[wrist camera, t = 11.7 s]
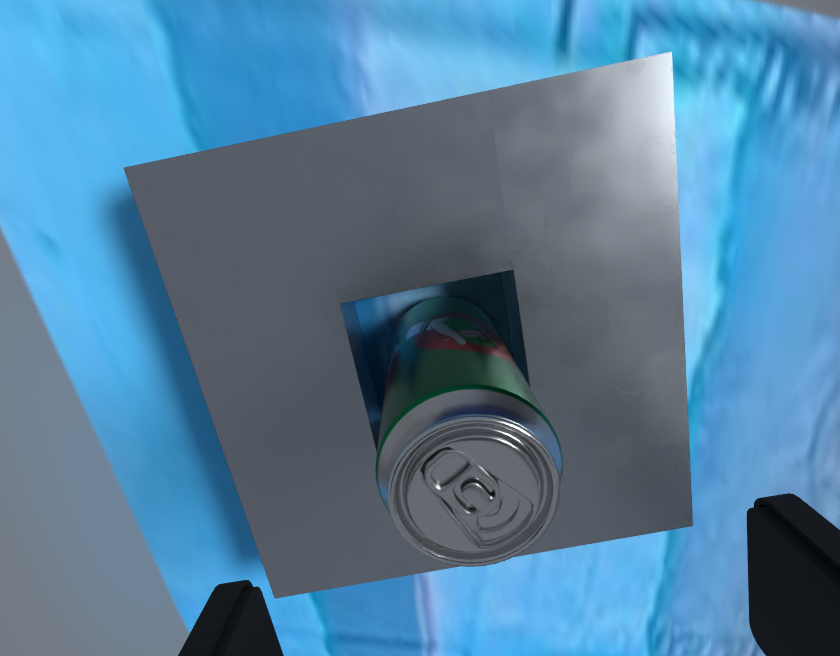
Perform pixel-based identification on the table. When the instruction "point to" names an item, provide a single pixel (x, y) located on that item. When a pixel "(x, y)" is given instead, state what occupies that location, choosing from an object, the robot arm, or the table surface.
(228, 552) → the table surface
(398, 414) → the soda can
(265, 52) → the table surface
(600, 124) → the bore block
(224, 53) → the table surface
